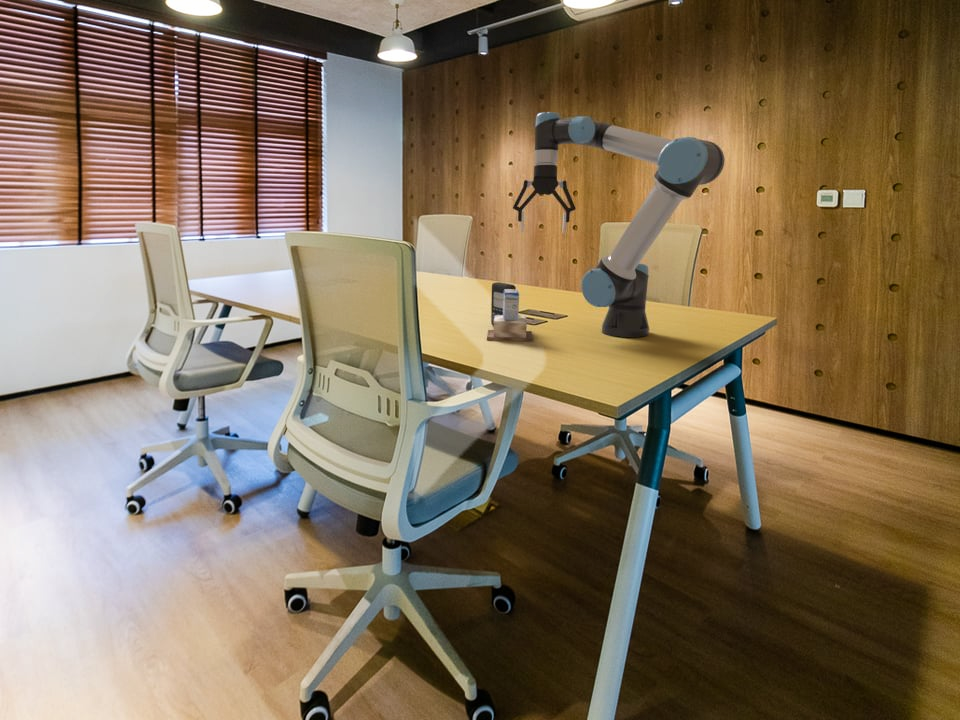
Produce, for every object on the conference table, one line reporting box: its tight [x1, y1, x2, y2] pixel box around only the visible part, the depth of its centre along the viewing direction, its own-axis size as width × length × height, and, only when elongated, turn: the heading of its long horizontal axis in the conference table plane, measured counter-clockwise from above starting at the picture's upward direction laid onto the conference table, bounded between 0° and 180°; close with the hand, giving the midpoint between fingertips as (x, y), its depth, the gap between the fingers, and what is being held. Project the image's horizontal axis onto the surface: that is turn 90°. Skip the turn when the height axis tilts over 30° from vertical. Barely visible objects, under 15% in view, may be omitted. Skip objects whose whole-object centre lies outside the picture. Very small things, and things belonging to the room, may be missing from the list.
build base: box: [486, 315, 534, 343], centre depth 190 cm, size 14×11×6 cm
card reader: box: [490, 281, 517, 327], centre depth 203 cm, size 9×4×15 cm, turn 37°
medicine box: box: [503, 289, 520, 321], centre depth 188 cm, size 8×4×9 cm, turn 1°
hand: (543, 232), depth 199 cm, fingers open, 13 cm apart
